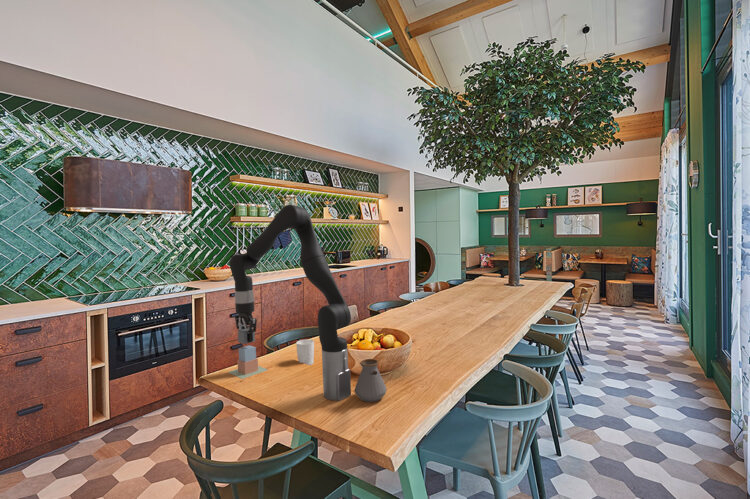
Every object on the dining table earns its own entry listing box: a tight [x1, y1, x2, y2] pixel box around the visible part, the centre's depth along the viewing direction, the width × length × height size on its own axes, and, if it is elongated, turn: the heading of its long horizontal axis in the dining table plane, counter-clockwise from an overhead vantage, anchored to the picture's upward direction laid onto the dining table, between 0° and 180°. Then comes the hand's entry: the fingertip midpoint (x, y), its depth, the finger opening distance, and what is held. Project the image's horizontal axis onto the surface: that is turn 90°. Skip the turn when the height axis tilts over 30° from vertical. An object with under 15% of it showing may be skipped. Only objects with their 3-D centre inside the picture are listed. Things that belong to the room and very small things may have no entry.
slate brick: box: [237, 329, 256, 345], centre depth 155 cm, size 5×5×5 cm
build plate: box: [227, 365, 269, 380], centre depth 156 cm, size 12×12×2 cm
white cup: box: [295, 338, 315, 366], centre depth 167 cm, size 8×8×10 cm
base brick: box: [236, 357, 259, 375], centre depth 156 cm, size 6×6×5 cm
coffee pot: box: [354, 358, 387, 403], centre depth 126 cm, size 21×12×15 cm, turn 9°
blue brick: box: [238, 344, 257, 362], centre depth 156 cm, size 5×5×5 cm
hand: (246, 340), depth 155 cm, fingers closed on slate brick, 5 cm apart
